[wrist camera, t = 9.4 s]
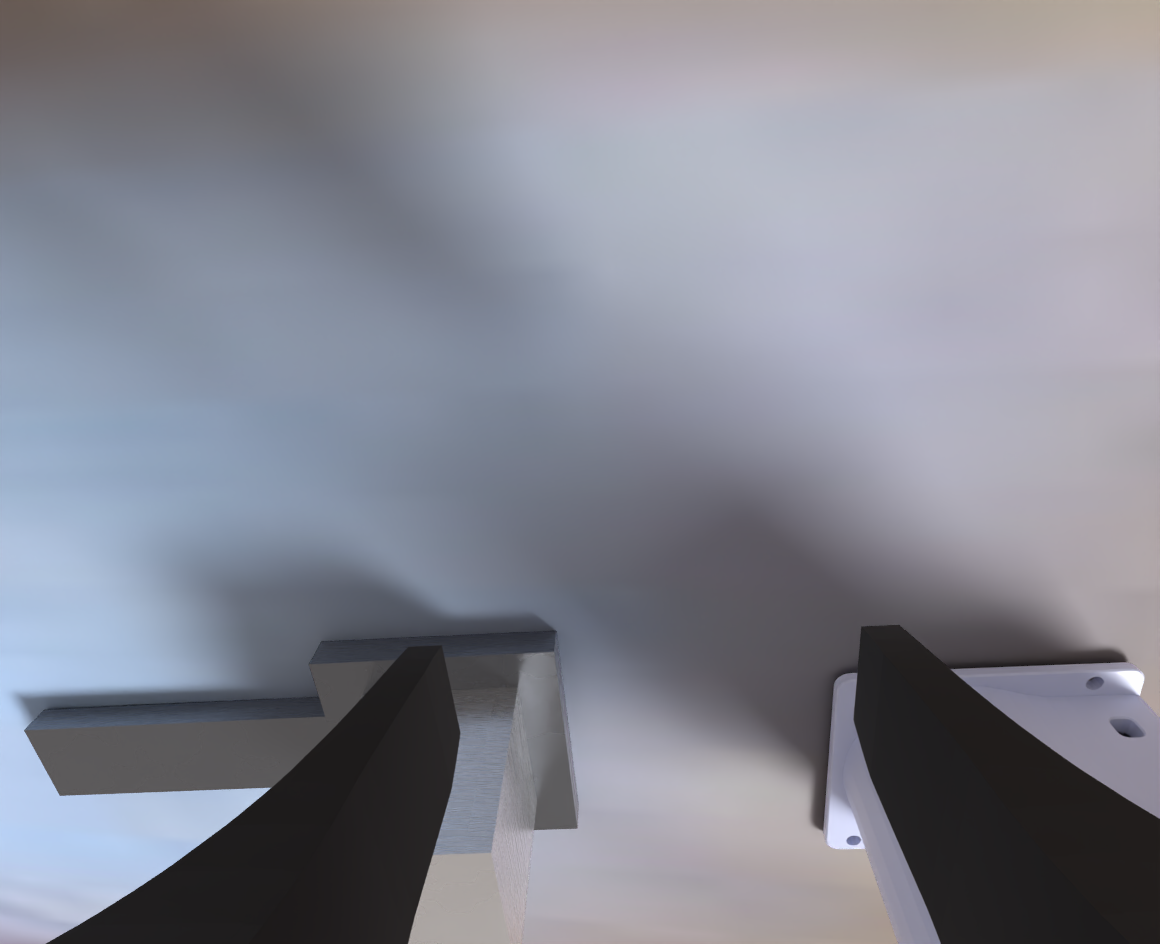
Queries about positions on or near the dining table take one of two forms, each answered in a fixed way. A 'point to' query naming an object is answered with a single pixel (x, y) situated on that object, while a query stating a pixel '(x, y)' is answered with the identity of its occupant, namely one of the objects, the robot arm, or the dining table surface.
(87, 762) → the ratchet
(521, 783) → the brushed metal cube
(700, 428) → the dining table surface
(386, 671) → the robot arm
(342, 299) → the dining table surface
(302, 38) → the dining table surface
